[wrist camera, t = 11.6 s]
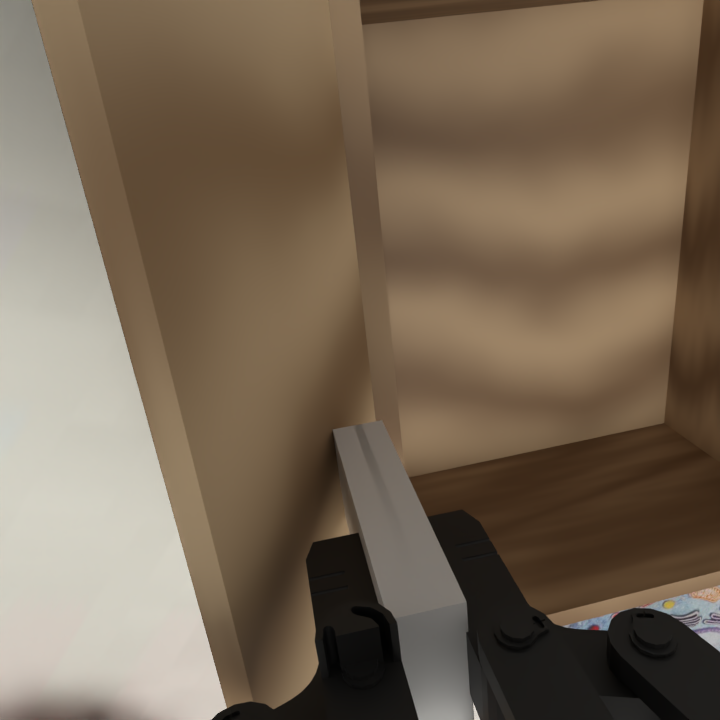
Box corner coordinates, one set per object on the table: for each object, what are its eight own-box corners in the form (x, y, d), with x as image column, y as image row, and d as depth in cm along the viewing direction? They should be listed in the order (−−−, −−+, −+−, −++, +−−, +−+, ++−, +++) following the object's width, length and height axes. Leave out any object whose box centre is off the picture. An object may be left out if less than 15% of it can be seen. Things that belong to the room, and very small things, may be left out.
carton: (279, 13, 26) (321, -58, 15) (709, -29, 29) (1009, -115, 18) (346, 494, 35) (403, 667, 24) (666, 426, 38) (844, 553, 27)
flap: (324, -39, 15) (300, -35, 15) (29, -189, 6) (-18, -175, 6) (402, 661, 24) (388, 659, 24) (326, 991, 15) (303, 984, 16)
